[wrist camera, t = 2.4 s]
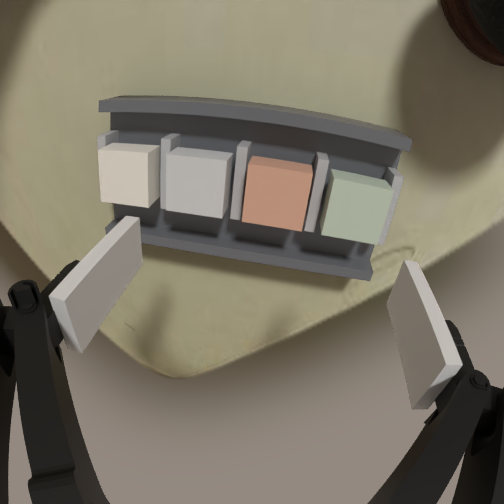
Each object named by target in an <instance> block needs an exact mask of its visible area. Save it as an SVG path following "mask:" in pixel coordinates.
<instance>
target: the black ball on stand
mask: <svg viewBox="0 0 504 504" xmlns="http://www.w3.org/2000/svg"><path fill="white" fill-rule="evenodd" d="M441 5H442V8H443V11H444V14H445V16H446V18H447V20H448V22H449V24H450V26H451V28H452V29H453V31H454V32H455V34H456V35H457V37H458V38H459V39H460V40H461V41H462V43H463V44H464V45H465V46H466V47H467V48H468V49H469V50H470V51H472V52H473V53H474V54H475V55H477V56H478V57H480V58H481V59H483V60H485V61H487V62H489V63H491V64H495V65H499V66H504V0H441Z"/></svg>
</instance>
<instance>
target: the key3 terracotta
mask: <svg viewBox="0 0 504 504" xmlns="http://www.w3.org/2000/svg"><path fill="white" fill-rule="evenodd" d="M312 177H313V171H312V165H309V164H303V163H297V162H291V161H285V160H279V159H272V158H266V157H259V156H252V158H251V160H250V162H249V163H248V170H247V179H246V188H245V197H244V206H243V215H242V222H247V223H253V224H259V225H265V226H272V227H278V228H284V229H290V230H296V231H302V228H303V223H304V218H305V213H306V208H307V203H308V198H309V193H310V187H311V182H312Z"/></svg>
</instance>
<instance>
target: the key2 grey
mask: <svg viewBox="0 0 504 504" xmlns="http://www.w3.org/2000/svg"><path fill="white" fill-rule="evenodd" d="M232 161H233V153H229V152H221V151H212V150H203V149H193V148H183V147H177V148H175V149H174V150H172V151H171V152H169V153H168V154H166V210H167V211H174V212H181V213H188V214H195V215H201V216H208V217H215V218H221V219H222V218H223V216H224V214H225V212H226V210H227V208H228V205H229V193H230V182H231V172H232Z"/></svg>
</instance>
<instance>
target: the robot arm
mask: <svg viewBox="0 0 504 504" xmlns="http://www.w3.org/2000/svg"><path fill="white" fill-rule="evenodd" d="M142 265H143V258H142V246H141V232H140V218H139V217H132V216H125V217H124V218H123V219H122V220H121V221H120V222H119V223H118V224H117V225H116V226H115V227H114V228H113V229H112V230H111V231H110V232H109V233H108V234H107V235H106V236H105V237H104V238H103V239H102V240H101V241H100V242H99V243H98V244H97V245H96V246H95V247H94V248H93V249H92V250H91V251H90V252H89V253H88V254H87V255H86V256H85V257H84V258H83V259H82V260H81V261H78V260H75V261H73V262H72V263H70V264H68V265H66V266H65V267H64V268H63V270H62V271H61V272H60V274H58V275H57V276H56V277H55V279H53V280H52V281H51V282H50V283H49V284H48V285H47V286H46V288H45V289H44V290H43V291H42V292H41V293H40V292H39V289H38V286H37V283H36V282H34V281H33V280H22V281H19V282H17V283H15V284H14V285H13V286H12V287H11V288H10V289H9V291H8V296H9V299H10V301H11V304H12V307H11V306H3V304H2V302H1V300H0V504H8V459H9V439H10V427H11V416H12V408H13V400H14V392H15V385H16V381H17V391H18V400H19V408H20V415H21V421H22V428H23V434H24V439H25V445H26V449H27V454H28V459H29V463H30V467H31V472H32V478H31V479H29V480H28V489H29V493H30V497H31V500H32V504H110V503H109V502H108V500H107V499H106V497H105V495H104V493H103V491H102V489H101V486H100V484H99V481H98V479H97V476H96V473H95V471H94V468H93V465H92V463H91V460H90V457H89V454H88V451H87V449H86V445H85V442H84V439H83V436H82V433H81V429H80V426H79V423H78V419H77V416H76V412H75V408H74V405H73V401H72V397H71V393H70V389H69V385H68V380H67V376H66V372H65V367H64V361H63V356H62V351H61V348H60V346H59V344H60V343H61V341H62V340H63V338H64V341H65V343H66V345H67V348H69V349H71V350H74V351H77V352H80V353H83V352H84V350H85V348H86V347H87V345H88V344H89V342H90V341H91V339H92V338H93V336H94V334H95V333H96V331H97V330H98V328H99V327H100V325H101V324H102V322H103V321H104V319H105V318H106V316H107V315H108V313H109V312H110V310H111V309H112V307H113V306H114V305H115V303H116V302H117V300H118V299H119V297H120V296H121V294H122V293H123V292H124V290H125V289H126V287H127V286H128V284H129V283H130V282H131V280H132V279H133V277H134V276H135V275H136V273H137V272H138V270H139V269H140V268H141V266H142ZM386 304H387V308H388V311H389V315H390V319H391V322H392V326H393V330H394V333H395V337H396V341H397V345H398V349H399V353H400V357H401V361H402V365H403V370H404V374H405V379H406V383H407V388H408V393H409V398H410V403H411V408H412V409H428V408H429V407H430V406H431V405H432V403H433V402H434V401H435V402H436V406H437V409H436V410H435V411H434V412H433V413H432V414H431V416H430V417H429V418H428V419H427V420H426V421H425V422H424V423H425V424H426V425H425V426H424V428H423V430H422V431H421V433H420V434H419V436H418V438H417V439H416V440H415V442H414V443H413V445H412V447H411V448H410V449H409V451H408V452H407V454H406V455H405V456H404V458H403V459H402V461H401V462H400V463H399V465H398V466H397V468H396V469H395V470H394V472H393V473H392V474H391V475H390V477H389V478H388V479H387V481H386V482H385V483H384V484H383V486H382V487H381V488H380V489H379V491H378V492H377V493H376V494H375V496H374V497H373V498H372V499H371V500H370V501H369V503H368V504H436V503H437V502H438V500H439V498H440V497H441V495H442V493H443V492H444V490H445V488H446V487H447V485H448V483H449V481H450V479H451V478H452V476H453V474H454V472H455V470H456V468H457V466H458V464H459V462H460V460H461V458H462V456H463V454H464V452H465V454H464V459H463V463H462V468H461V472H460V476H459V479H458V483H457V487H456V490H455V494H454V497H453V500H452V504H504V388H503V389H501V388H497V387H494V386H491V385H490V383H489V380H488V379H487V377H486V376H485V375H484V374H483V373H482V372H480V371H478V370H474V367H473V364H472V362H471V359H470V357H469V354H468V352H467V349H466V347H465V346H464V342H463V340H462V339H461V335H460V333H459V331H458V329H457V327H455V325H454V324H453V323H452V322H451V321H450V320H444V317H443V315H442V313H441V310H440V308H439V306H438V304H437V302H436V300H435V297H434V295H433V293H432V291H431V289H430V287H429V285H428V283H427V281H426V279H425V277H424V275H423V273H422V270H421V268H420V266H419V265H418V263H417V262H413V261H408V260H404V261H403V264H402V266H401V269H400V272H399V274H398V277H397V279H396V282H395V284H394V287H393V289H392V292H391V294H390V296H389V298H388V301H387V303H386Z"/></svg>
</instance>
